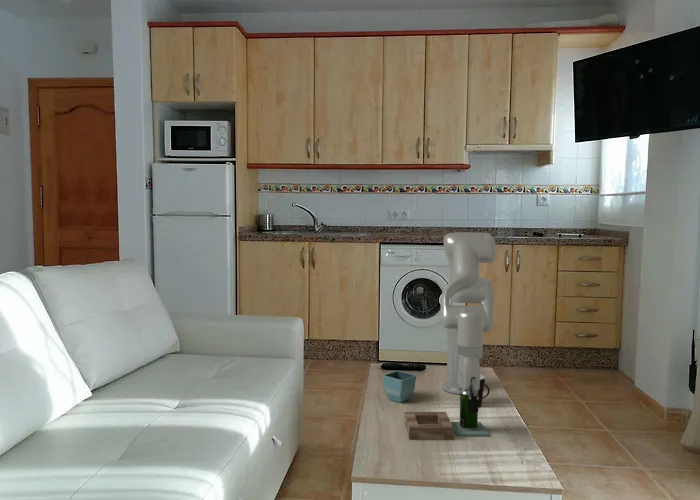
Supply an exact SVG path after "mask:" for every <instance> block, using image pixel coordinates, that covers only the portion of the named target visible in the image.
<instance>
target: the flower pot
mask: <svg viewBox="0 0 700 500" xmlns="http://www.w3.org/2000/svg"><path fill="white" fill-rule="evenodd" d="M382 379H383V387H384V392H385V394H386V396H387V398H388V399H389V400H390V401H393V402H397V403H403V402H406V401H408V400H409V399H410V398H411V397H412V395H413V393H414V390H415V388H416V387H415V386H416V381H417V375H416V374H412V373H409V372H405V371H401V370H395V371H392V372H389V373H385V374H383V375H382Z"/></svg>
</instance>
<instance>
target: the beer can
mask: <svg viewBox="0 0 700 500" xmlns="http://www.w3.org/2000/svg"><path fill="white" fill-rule="evenodd" d="M471 393H472V392H470V394H471ZM467 399H468V391H467V390H466V391H464V390H462V388H461V391H460V394H459V422H460V427H461V428H462V429H463V430H467V431H473V430H476V429H477V426H478V422H479V421H478V418H479V416H478V414H479V411H478V412H467Z"/></svg>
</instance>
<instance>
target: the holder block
mask: <svg viewBox="0 0 700 500" xmlns="http://www.w3.org/2000/svg"><path fill="white" fill-rule="evenodd" d="M403 420H404V422H403V423H404V426H405V429H406V432H407V437H408V439H409V440H410V441H411V440H413V441H414V440H417V441H418V440H419V441H421V440H425V441H433V440H435V441H437V440H438V441H441V440H442V441H449V440H452V441H454V439H455V434H454V427H453V425H452V423H451V422H452V421H451V420H450V418H449V415H448V414H447V412H446V411H404V419H403Z"/></svg>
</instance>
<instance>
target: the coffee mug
mask: <svg viewBox="0 0 700 500" xmlns="http://www.w3.org/2000/svg"><path fill="white" fill-rule="evenodd" d="M485 382H486V376H485V375H483V374H481V373H480V388H479V390H478V408H480V406H481V407H482V404H483V399H485V398H487V397H488V396H489V395H490V387H489V386H488V384H486V383H485ZM485 388H486V390H487V393H486V394H485V395H484V390H485Z"/></svg>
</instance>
